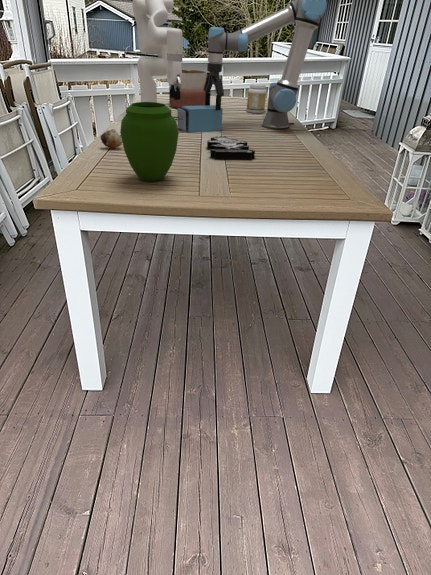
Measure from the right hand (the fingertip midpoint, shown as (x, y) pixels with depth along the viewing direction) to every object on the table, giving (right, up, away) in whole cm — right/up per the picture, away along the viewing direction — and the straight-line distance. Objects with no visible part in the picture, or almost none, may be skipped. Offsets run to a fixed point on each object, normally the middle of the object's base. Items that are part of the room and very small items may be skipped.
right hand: (212, 108), depth 219 cm
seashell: (-44, -35, -39) cm, 69 cm away
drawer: (-12, -11, 0) cm, 16 cm away
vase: (-21, -57, -73) cm, 95 cm away
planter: (-18, +29, +65) cm, 73 cm away
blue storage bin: (-6, -10, +3) cm, 12 cm away
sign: (+7, -34, -34) cm, 49 cm away
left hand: (-19, 0, -11) cm, 22 cm away
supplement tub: (+29, +23, +60) cm, 70 cm away
